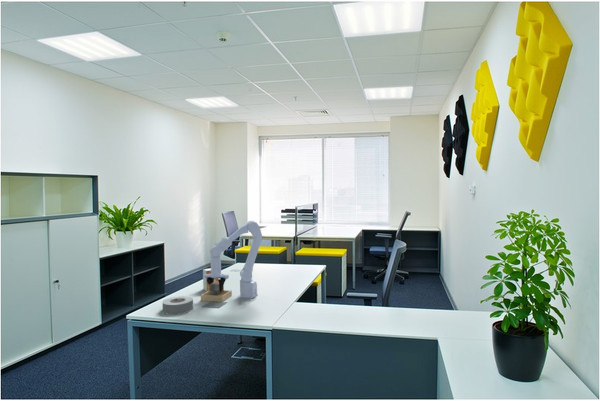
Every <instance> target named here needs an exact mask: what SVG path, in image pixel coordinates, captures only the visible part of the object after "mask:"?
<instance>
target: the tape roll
mask: <svg viewBox="0 0 600 401" xmlns="http://www.w3.org/2000/svg"><path fill="white" fill-rule="evenodd" d="M193 309H194V298H193V297H192V296H187V295H185V296H184V295H183V296H182V295H181V296H178V295H177V296H173V297H169V298H166V299H164V300H163V301H162V313H163V312H164V314H166V313H168V314H167V315H179V314H178V313H180V314H184V313H188V312H190V311H192V310H193Z"/></svg>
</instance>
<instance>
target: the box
mask: <svg viewBox="0 0 600 401" xmlns="http://www.w3.org/2000/svg"><path fill="white" fill-rule="evenodd" d="M224 285H225V284H224ZM224 285H223V290H222V291H220V288H219V282H217V281H216V282H214V283H212V284H210V285H209V295H215V296H218V295H220V294H221V293H223V292H224V290H225V288H224V287H225V286H224Z"/></svg>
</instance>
